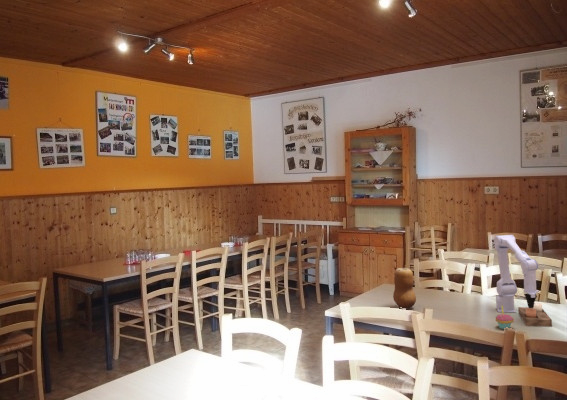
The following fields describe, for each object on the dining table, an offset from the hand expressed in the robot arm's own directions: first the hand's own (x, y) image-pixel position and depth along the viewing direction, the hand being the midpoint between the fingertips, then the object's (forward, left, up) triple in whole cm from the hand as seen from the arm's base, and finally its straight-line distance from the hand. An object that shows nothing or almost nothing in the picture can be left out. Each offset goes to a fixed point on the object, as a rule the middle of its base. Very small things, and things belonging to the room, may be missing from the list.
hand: (530, 307), depth 250 cm
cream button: (+5, +10, -6) cm, 13 cm away
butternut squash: (-67, +19, -8) cm, 70 cm away
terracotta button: (0, 0, -6) cm, 6 cm away
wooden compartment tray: (+2, +5, -8) cm, 10 cm away
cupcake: (-15, -11, -8) cm, 20 cm away
